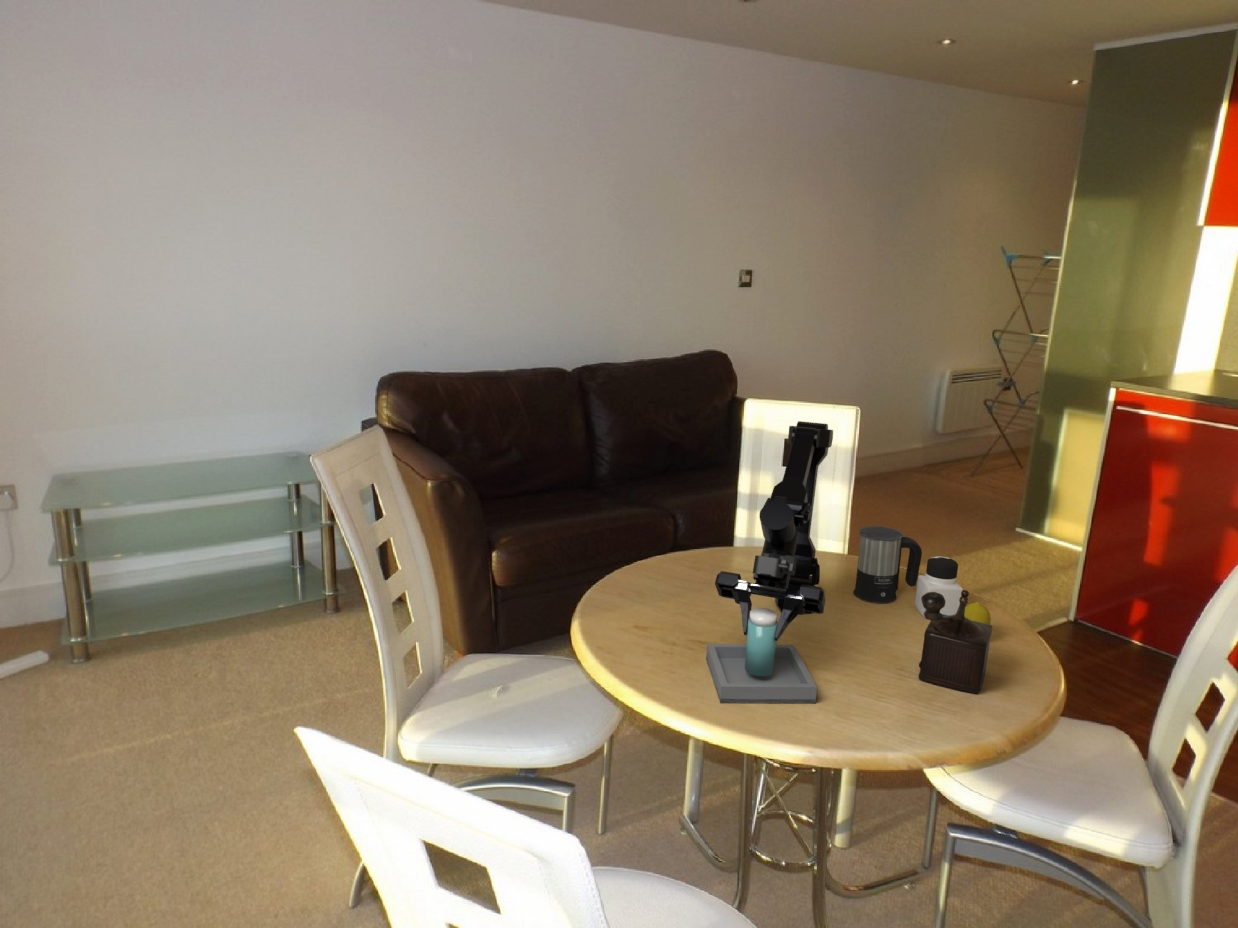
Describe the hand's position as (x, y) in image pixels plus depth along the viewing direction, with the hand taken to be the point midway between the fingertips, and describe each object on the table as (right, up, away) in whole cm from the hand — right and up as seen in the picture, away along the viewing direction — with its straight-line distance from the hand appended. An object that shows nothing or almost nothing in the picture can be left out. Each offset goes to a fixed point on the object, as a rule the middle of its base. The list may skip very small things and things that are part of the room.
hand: (760, 637), depth 151 cm
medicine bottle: (+43, -2, +35) cm, 55 cm away
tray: (0, -8, +3) cm, 9 cm away
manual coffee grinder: (+34, -9, +5) cm, 36 cm away
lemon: (+45, -5, +22) cm, 51 cm away
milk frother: (+33, +1, +47) cm, 57 cm away
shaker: (0, -6, +3) cm, 7 cm away
